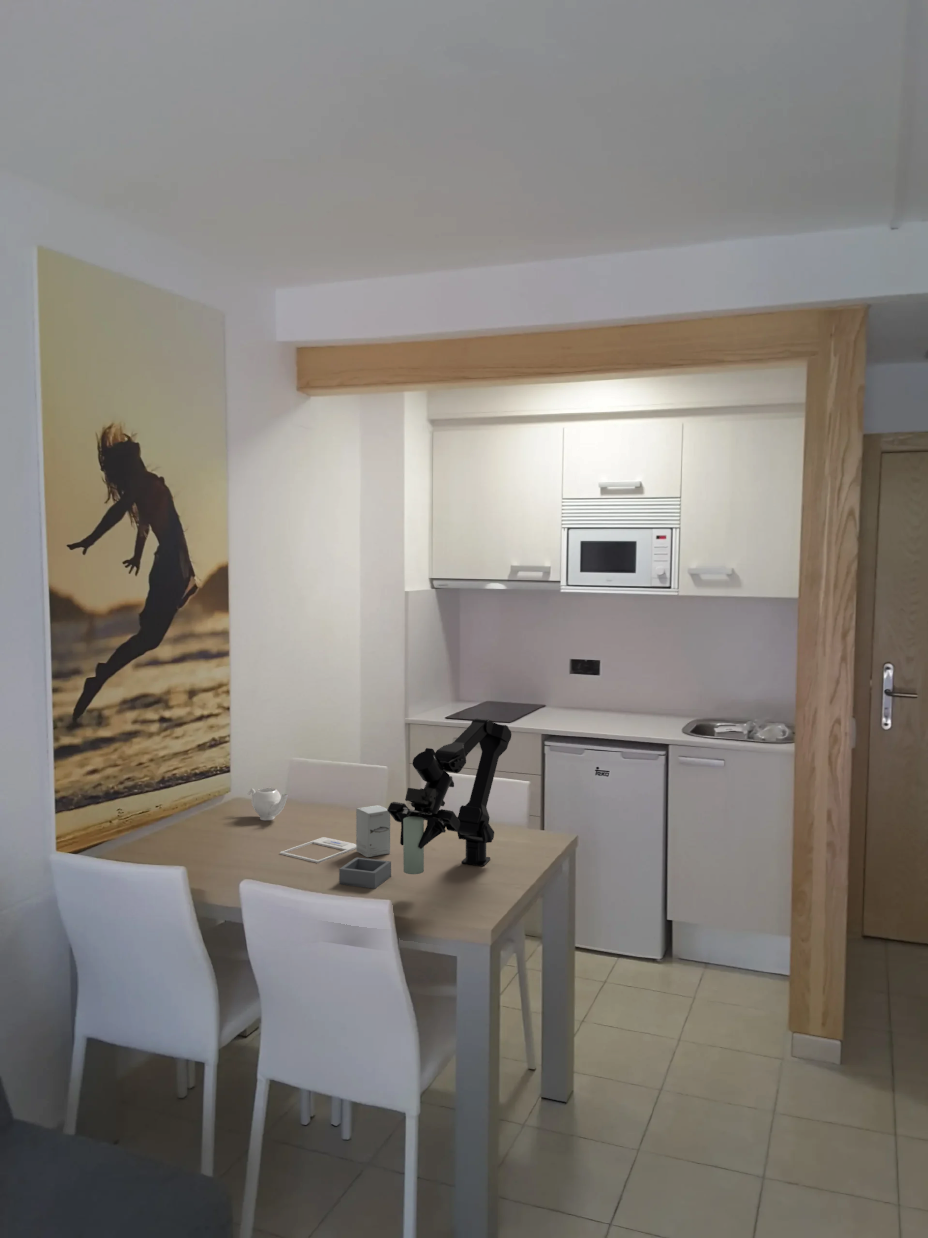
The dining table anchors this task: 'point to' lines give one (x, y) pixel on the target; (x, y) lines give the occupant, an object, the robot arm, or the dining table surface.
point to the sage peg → (413, 845)
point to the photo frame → (324, 842)
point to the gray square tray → (365, 872)
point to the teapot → (267, 802)
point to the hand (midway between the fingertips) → (410, 846)
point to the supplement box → (372, 831)
